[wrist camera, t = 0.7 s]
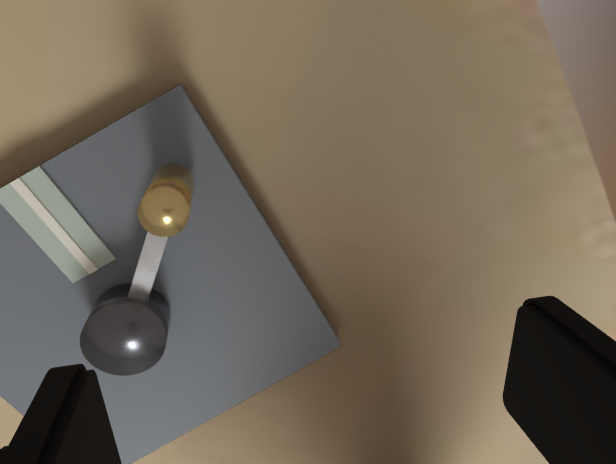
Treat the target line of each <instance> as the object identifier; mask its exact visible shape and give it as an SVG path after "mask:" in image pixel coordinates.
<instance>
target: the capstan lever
mask: <svg viewBox="0 0 616 464" xmlns="http://www.w3.org/2000/svg"><path fill="white" fill-rule="evenodd" d="M194 186H195V182H194V178H193V176H192V174H191V173H190V171H189V170H187V169H186V168H185V167H183V166H181V165H177V164H168V165H165V166H163V167H161V168H160V169H159V170H158V171H157V172H156V174H155V175H154V177H153V179H152V181H151V183H150V185H149V187H148V188H147V190H146V192H145V194H144V196H143V198H142V200H141V201H140V203H139V206H138V210H137V214H138V219H139V222H140V224H141V225H142V227H143V228H144V229H145V230H146V231H148V232H147V235H146V239H145V242H144V245H143V249H142V252H141V255H140V258H139V262H138V265H137V268H136V271H135V275H134V278H133V281H132V284H121V285H117V286H115V287H112V288H110V289H108V290H107V291H105V292H104V293H103V294H102V295H101V296H100V297H99V298H98V299H97V301H96V303H95V305H94V307H93V309H92V311H91V313H90V315H89V317H88V319H87V321H86V323H85V325H84V327H83V329H82V331H81V334H80V348H81V351H82V353H83V355H84V357H85V358H86V360H87V361H88V362H89V363H90V364H91V365H93V366H94V367H95V368H97V369H99V370H101V371H103V372H105V373H108V374H112V375H119V376H128V375H135V374H139V373H142V372H144V371H146V370H148V369H150V368H151V367H153V366H154V365H155V364H156V363H157V362H158V361H159V360H160V359H161V357H162V356H163V353H164V351H165V347H166V342H167V337H168V331H169V326H170V320H171V312H170V308H169V305H168V303H167V302H166V300H165V299H164V297H163V296H162V295H161V294H159V293H158V292H157V291H155V290H154V289H152V285H153V282H154V279H155V276H156V273H157V270H158V267H159V264H160V261H161V258H162V254H163V251H164V248H165V245H166V242H167V239H168V237H169V236H173V235H176V234H178V233H179V232H181V231H182V230H183V229H184V228H185V226H186V224H187V222H188V219H189V213H190V208H191V203H192V198H193V192H194Z"/></svg>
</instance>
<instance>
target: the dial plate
mask: <svg viewBox="0 0 616 464" xmlns="http://www.w3.org/2000/svg"><path fill="white" fill-rule="evenodd" d="M168 164H177V165H181V166H183V167H185V168H186V169H187V170H189V171H190V173H191V174H192V176H193V178H194V182H195V186H194V192H193V198H192V203H191V208H190V213H189V219H188V222H187V224H186V226H185V228H184V229H183V230H182V231H181V232H179V233H178V234H176V235H173V236H169V237H168V239H167V242H166V245H165V248H164V251H163V254H162V258H161V261H160V264H159V267H158V270H157V273H156V276H155V279H154V282H153V285H152V289H154V290H155V291H157V292H158V293H159V294H161V295H162V296H163V297H164V299H165V300H166V302H167V303H168V305H169V308H170V312H171V320H170V326H169V331H168V337H167V342H166V347H165V351H164V353H163V356H162V357H161V359H160V360H159V361H158V362H157V363H156V364H155V365H154V366H153V367H151V368H150V369H148V370H146V371H144V372H142V373H139V374H135V375H128V376H119V375H112V374H108V373H105V372H103V371H101V370H99V369H97V368H95V367H94V366H93V365H91V364H90V363H89V362H88V361H87V360H86V358H85V357H84V355H83V353H82V351H81V348H80V334H81V331H82V329H83V327H84V325H85V323H86V321H87V319H88V317H89V315H90V313H91V311H92V309H93V307H94V305H95V303H96V301H97V299H98V298H99V297H100V296H101V295H102V294H103V293H104V292H105V291H107V290H108V289H110V288H112V287H115V286H117V285H121V284H132V281H133V278H134V275H135V271H136V268H137V265H138V262H139V258H140V255H141V252H142V249H143V245H144V242H145V239H146V235H147V232H148V231H146V230H145V229H144V228H143V227H142V225H141V224H140V222H139V219H138V214H137V210H138V206H139V203H140V201H141V200H142V198H143V196H144V194H145V192H146V190H147V188H148V187H149V185H150V183H151V181H152V179H153V177H154V175H155V174H156V172H157V171H158V170H159V169H160V168H161V167H163V166H165V165H168ZM341 346H342V345H341V343H340V340H339V338H338V336H337V334H336V332H335V330H334V329H333V327H332V326H331V324H330V322H329V321H328V319H327V318H326V316H325V314H324V313H323V311H322V309H321V308H320V306H319V305H318V303H317V301H316V300H315V298H314V297H313V295H312V293H311V292H310V290H309V288H308V287H307V285H306V284H305V282H304V280H303V279H302V277H301V276H300V274H299V272H298V271H297V269H296V267H295V266H294V264H293V263H292V261H291V259H290V258H289V256H288V255H287V253H286V251H285V250H284V248H283V246H282V245H281V243H280V242H279V240H278V238H277V237H276V235H275V234H274V232H273V230H272V229H271V227H270V225H269V224H268V222H267V221H266V219H265V217H264V216H263V214H262V213H261V211H260V209H259V208H258V206H257V204H256V203H255V201H254V200H253V198H252V196H251V195H250V193H249V192H248V190H247V188H246V187H245V185H244V183H243V182H242V180H241V179H240V177H239V175H238V174H237V172H236V171H235V169H234V167H233V166H232V164H231V162H230V161H229V159H228V158H227V156H226V154H225V153H224V151H223V150H222V148H221V146H220V145H219V143H218V141H217V140H216V138H215V137H214V135H213V133H212V132H211V130H210V129H209V127H208V125H207V124H206V122H205V120H204V119H203V117H202V116H201V114H200V112H199V111H198V109H197V107H196V106H195V104H194V103H193V101H192V99H191V98H190V96H189V95H188V93H187V91H186V90H185V88H184V86H183V85H182V83H181V84H180V85H178V86H176V87H174V88H173V89H171V90H169V91H167V92H166V93H164V94H162V95H161V96H159V97H157V98H155V99H154V100H152V101H150V102H148V103H147V104H145V105H143V106H142V107H140V108H138V109H136V110H135V111H133V112H131V113H129V114H128V115H126V116H124V117H122V118H121V119H119V120H117V121H116V122H114V123H112V124H110V125H109V126H107V127H105V128H103V129H102V130H100V131H98V132H97V133H95V134H93V135H91V136H90V137H88V138H86V139H84V140H83V141H81V142H79V143H78V144H76V145H74V146H72V147H71V148H69V149H67V150H65V151H64V152H62V153H60V154H59V155H57V156H55V157H53V158H52V159H50V160H48V161H46V162H45V163H43V164H41V165H40V166H38V167H36V168H34V169H33V170H31V171H29V172H27V173H26V174H24V175H22V176H20V177H19V178H17V179H15V180H14V181H12V182H10V183H8V184H7V185H5V186H3V187H1V188H0V396H1V397H2V398H4V399H5V400H6V401H7V402H8V403H9V404H11V405H12V406H13V407H14V408H15V409H16V410H17V411H19V412H20V413H21V414H22V415H23V416H24V415H25V413H26V411H27V410H28V408H29V406H30V404H31V402H32V400H33V398H34V396H35V394H36V392H37V390H38V388H39V387H40V385H41V383H42V381H43V379H44V377H45V375H46V373H47V372H48V370H49V369H51V368H54V367H61V366H67V365H74V364H83V365H84V366H85V367H86V370H91V369H93V370H94V371H95V372H96V374H97V378H98V381H99V385H100V388H101V392H102V395H103V399H104V402H105V406H106V410H107V413H108V417H109V420H110V424H111V427H112V431H113V434H114V438H115V441H116V445H117V449H118V452H119V456H120V459H121V463H122V464H131V463H133V462H135V461H137V460H138V459H140V458H142V457H144V456H146V455H147V454H149V453H151V452H153V451H155V450H156V449H158V448H160V447H162V446H163V445H165V444H167V443H169V442H171V441H172V440H174V439H176V438H178V437H180V436H181V435H183V434H185V433H187V432H189V431H190V430H192V429H194V428H196V427H198V426H199V425H201V424H203V423H205V422H206V421H208V420H210V419H212V418H214V417H215V416H217V415H219V414H221V413H223V412H224V411H226V410H228V409H230V408H232V407H233V406H235V405H237V404H239V403H241V402H242V401H244V400H246V399H248V398H249V397H251V396H253V395H255V394H257V393H258V392H260V391H262V390H264V389H266V388H267V387H269V386H271V385H273V384H275V383H276V382H278V381H280V380H282V379H284V378H285V377H287V376H289V375H291V374H292V373H294V372H296V371H298V370H300V369H301V368H303V367H305V366H307V365H309V364H310V363H312V362H314V361H316V360H318V359H319V358H321V357H323V356H325V355H327V354H328V353H330V352H332V351H334V350H335V349H337V348H339V347H341Z"/></svg>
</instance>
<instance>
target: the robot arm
mask: <svg viewBox="0 0 616 464" xmlns="http://www.w3.org/2000/svg"><path fill="white" fill-rule="evenodd" d="M503 402H504V405H505V407H506V409H507V411H508V412H509V414H510V415H511V416H512V417H513V419H514V420H515V421H516V422H517V424H518V425H519V426H520V427H521V429H522V430H523V431H524V432H525V434H526V435H527V436H528V437H529V439H530V440H531V441H532V442H533V444H534V445H535V446H536V447H537V449H538V450H539V451H540V452H541V454H542V455H543V456H544V457H545V459H546V460H547V461H548V462H549V464H616V341H614V340H613V339H612V338H610V337H609V336H608V335H606V334H605V333H604V332H602V331H601V330H600V329H598V328H597V327H595V326H594V325H593V324H591V323H590V322H589V321H587V320H586V319H585V318H583V317H582V316H581V315H579V314H578V313H576V312H575V311H574V310H572V309H571V308H570V307H568V306H567V305H566V304H564V303H563V302H562V301H560V300H559V299H557V298H556V297H554V296H545V297H538V298H531V299H527V300H525V302H524V303H523V306H521V307H520V308H519V309H518V312H517V316H516V322H515V328H514V334H513V339H512V345H511V351H510V356H509V362H508V368H507V374H506V379H505V385H504V391H503ZM0 464H122V463H121V459H120V456H119V452H118V449H117V445H116V441H115V438H114V434H113V431H112V427H111V424H110V420H109V417H108V413H107V410H106V406H105V402H104V399H103V395H102V392H101V388H100V385H99V381H98V378H97V374H96V372H95V371H94V370H93V369H91V370H86V367H85V366H84V365H83V364H74V365H67V366H61V367H54V368H51V369H49V370H48V372H47V373H46V375H45V377H44V379H43V381H42V383H41V385H40V387H39V388H38V390H37V392H36V394H35V396H34V398H33V400H32V402H31V404H30V406H29V408H28V410H27V411H26V413H25V415H24V417H23V419H22V421H21V423H20V425H19V427H18V429H17V431H16V432H15V434H14V436H13V438H12V440H11V442H10V444H9V446H4V447H3V448H2V449H0Z"/></svg>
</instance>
